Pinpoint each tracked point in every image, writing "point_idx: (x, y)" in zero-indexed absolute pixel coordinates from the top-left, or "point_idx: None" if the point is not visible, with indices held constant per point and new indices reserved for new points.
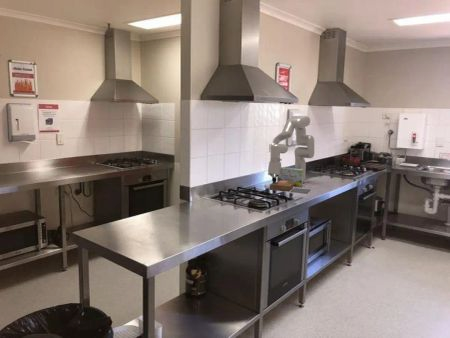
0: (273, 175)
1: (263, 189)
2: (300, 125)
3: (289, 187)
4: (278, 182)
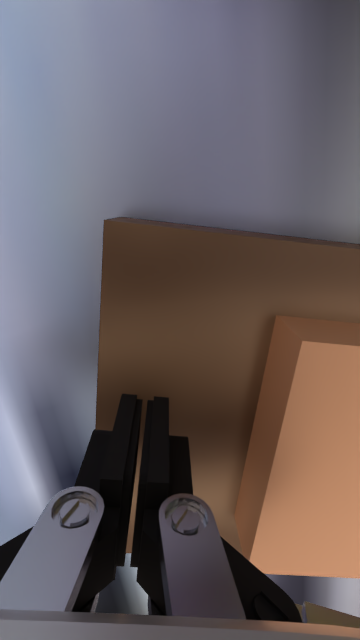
0: (72, 572)
1: (23, 495)
2: None
3: None
4: (255, 562)
